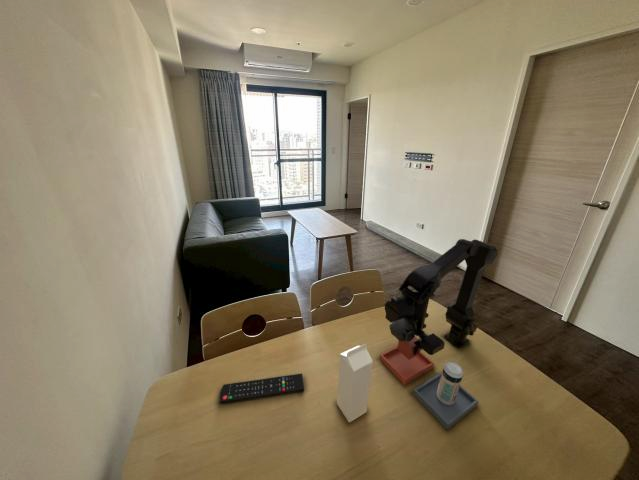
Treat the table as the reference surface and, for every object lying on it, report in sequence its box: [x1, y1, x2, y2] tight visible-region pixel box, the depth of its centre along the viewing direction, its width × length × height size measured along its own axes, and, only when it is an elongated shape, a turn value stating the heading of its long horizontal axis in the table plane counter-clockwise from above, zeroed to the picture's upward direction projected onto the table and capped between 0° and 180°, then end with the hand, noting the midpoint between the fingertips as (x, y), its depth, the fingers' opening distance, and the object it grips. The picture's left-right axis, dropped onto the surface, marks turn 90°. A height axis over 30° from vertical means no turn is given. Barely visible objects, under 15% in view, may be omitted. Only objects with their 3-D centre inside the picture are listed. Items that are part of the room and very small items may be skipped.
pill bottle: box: [437, 361, 464, 405], centre depth 70 cm, size 5×5×12 cm
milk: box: [336, 343, 374, 423], centre depth 66 cm, size 6×6×22 cm
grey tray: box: [412, 371, 479, 431], centre depth 72 cm, size 13×11×2 cm
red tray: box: [379, 345, 435, 386], centre depth 84 cm, size 13×11×2 cm
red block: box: [397, 336, 421, 360], centre depth 81 cm, size 5×5×5 cm
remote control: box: [219, 373, 305, 404], centre depth 74 cm, size 5×24×1 cm, turn 100°
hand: (408, 349), depth 82 cm, fingers closed on red block, 5 cm apart
